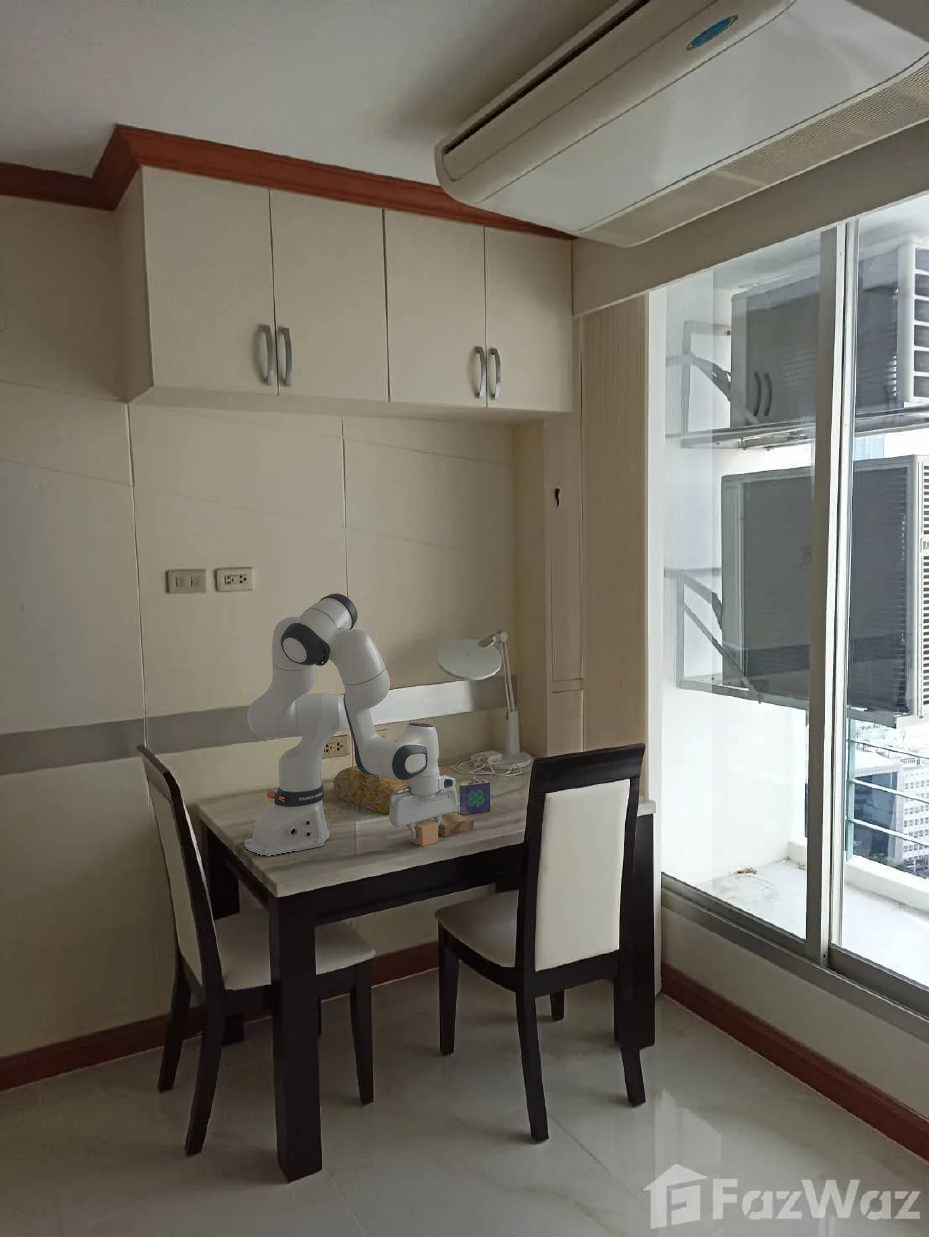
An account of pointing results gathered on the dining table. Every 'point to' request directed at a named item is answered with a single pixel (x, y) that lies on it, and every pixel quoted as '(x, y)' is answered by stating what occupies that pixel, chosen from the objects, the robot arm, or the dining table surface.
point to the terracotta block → (426, 832)
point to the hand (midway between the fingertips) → (424, 835)
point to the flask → (474, 797)
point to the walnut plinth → (453, 824)
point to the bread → (366, 789)
